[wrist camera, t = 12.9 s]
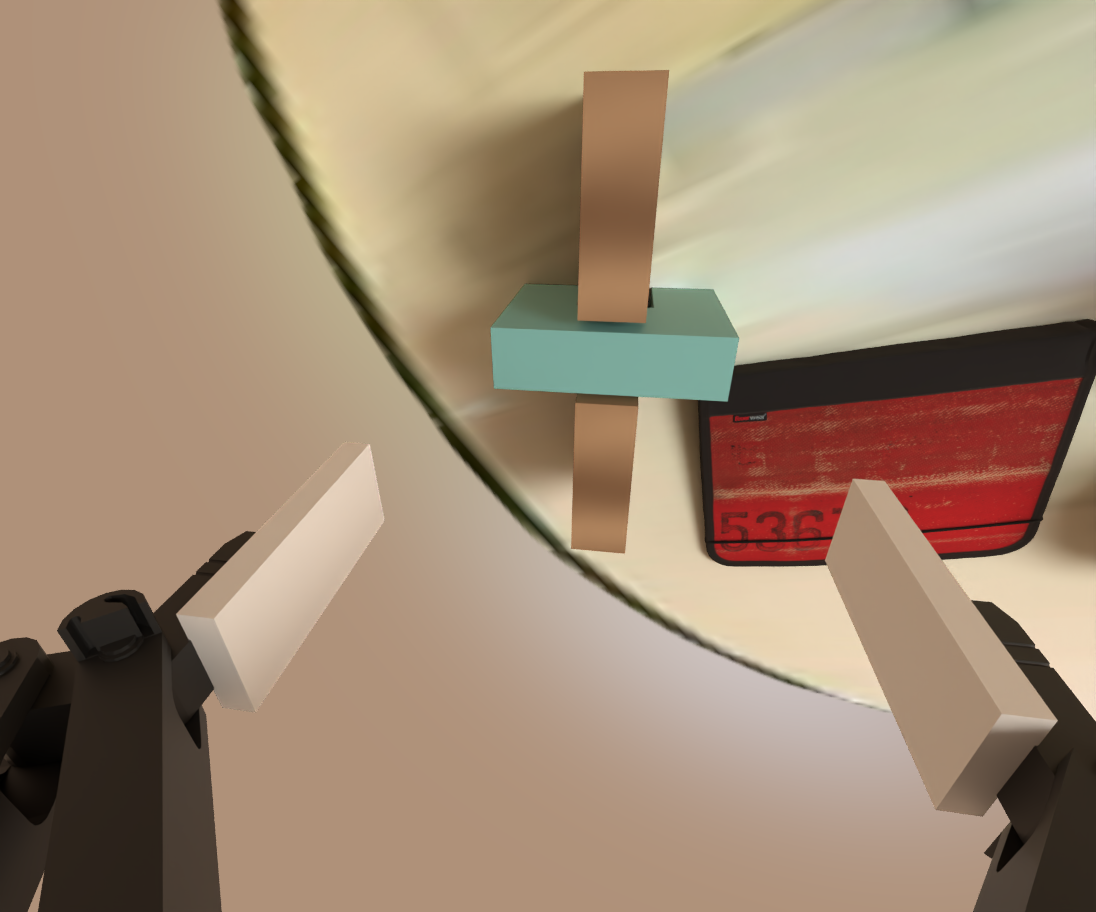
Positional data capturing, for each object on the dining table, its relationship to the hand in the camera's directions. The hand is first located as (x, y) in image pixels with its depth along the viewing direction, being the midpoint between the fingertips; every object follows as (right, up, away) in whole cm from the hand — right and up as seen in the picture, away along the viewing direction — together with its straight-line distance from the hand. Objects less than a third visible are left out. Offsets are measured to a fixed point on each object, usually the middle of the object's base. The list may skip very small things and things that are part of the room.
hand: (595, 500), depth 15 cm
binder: (+20, +1, +20) cm, 28 cm away
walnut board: (+3, +10, +17) cm, 20 cm away
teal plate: (+3, +10, +17) cm, 20 cm away
